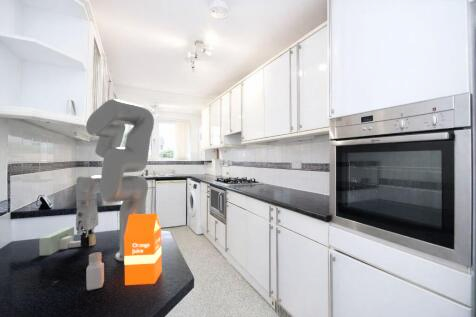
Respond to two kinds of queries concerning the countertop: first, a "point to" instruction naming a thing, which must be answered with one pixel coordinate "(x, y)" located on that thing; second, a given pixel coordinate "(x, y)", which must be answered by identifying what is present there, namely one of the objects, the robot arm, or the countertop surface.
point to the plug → (74, 242)
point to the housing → (54, 240)
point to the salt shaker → (95, 271)
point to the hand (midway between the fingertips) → (87, 244)
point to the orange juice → (142, 249)
